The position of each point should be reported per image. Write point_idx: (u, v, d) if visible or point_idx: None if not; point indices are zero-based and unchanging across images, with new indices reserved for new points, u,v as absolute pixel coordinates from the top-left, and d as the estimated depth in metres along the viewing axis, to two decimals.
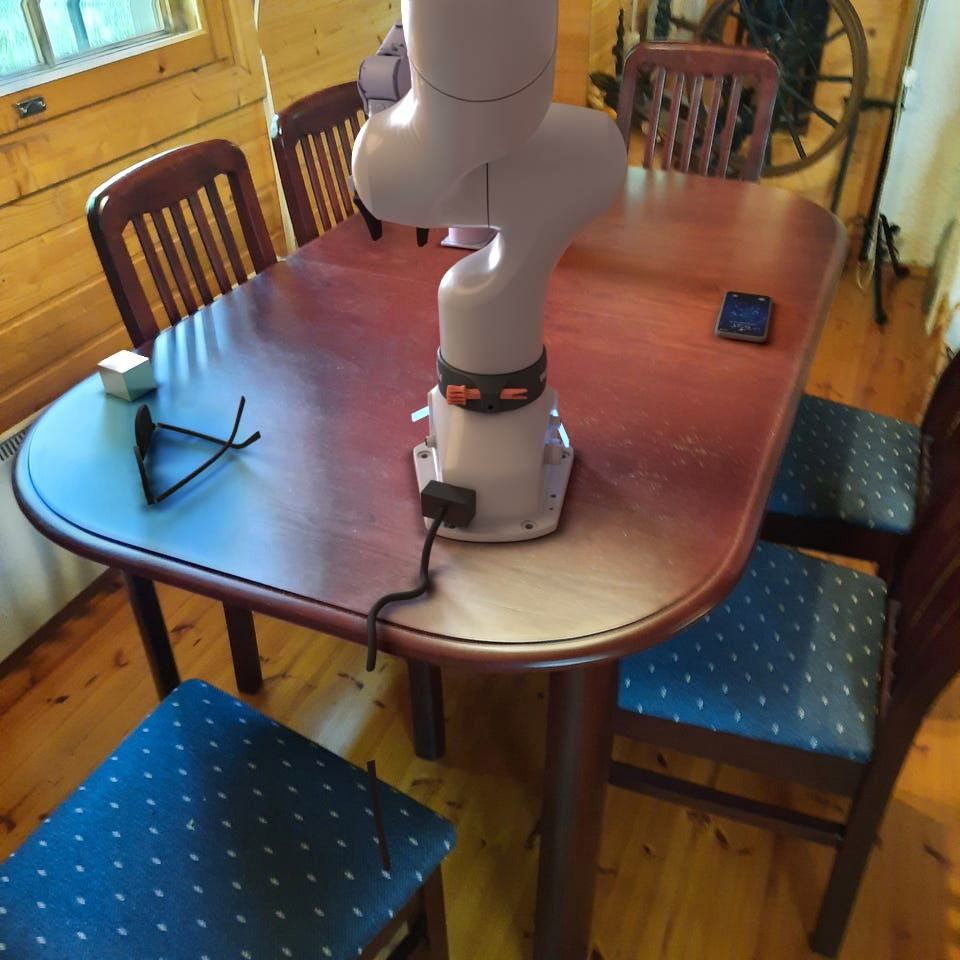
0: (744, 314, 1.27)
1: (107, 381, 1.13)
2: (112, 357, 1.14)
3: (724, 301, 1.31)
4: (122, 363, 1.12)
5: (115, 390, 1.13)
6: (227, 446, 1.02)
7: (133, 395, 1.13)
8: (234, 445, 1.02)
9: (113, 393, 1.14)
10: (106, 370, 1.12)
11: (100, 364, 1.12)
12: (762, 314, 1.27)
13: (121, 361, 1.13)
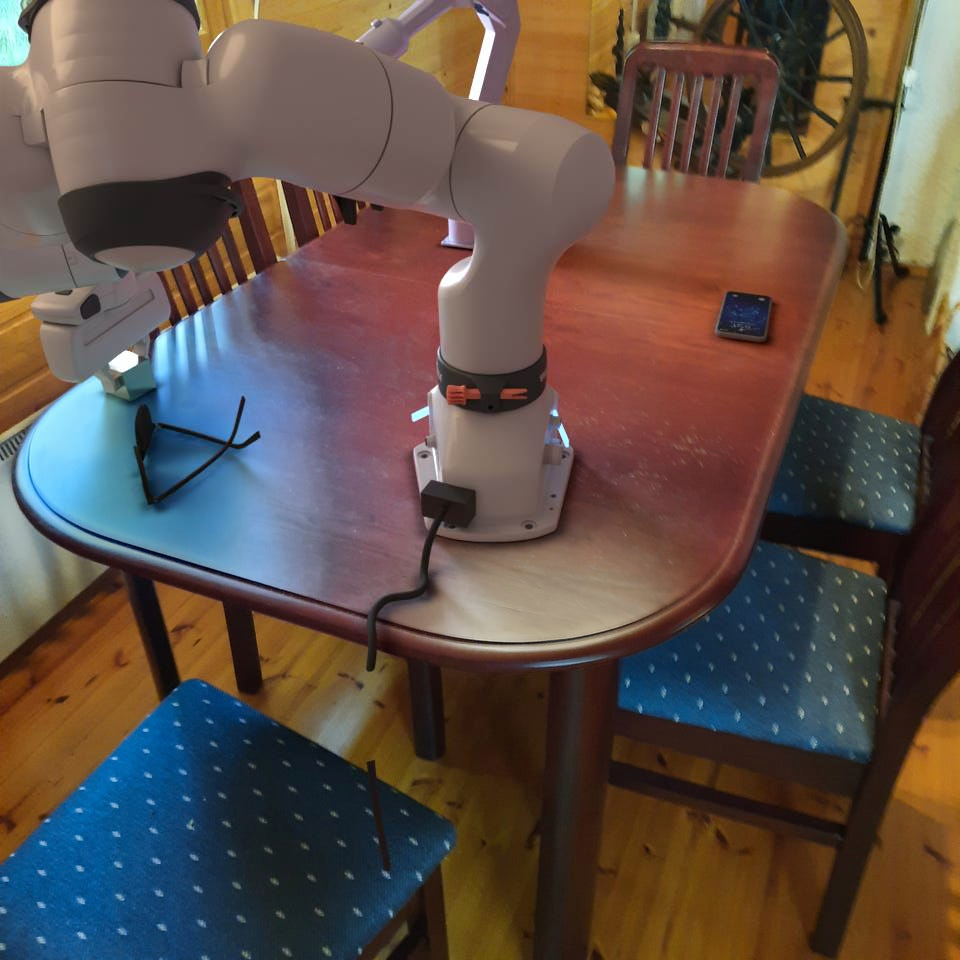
0: (744, 314, 1.27)
1: None
2: None
3: (724, 301, 1.31)
4: (123, 363, 1.12)
5: None
6: (227, 446, 1.02)
7: (133, 395, 1.13)
8: (234, 445, 1.02)
9: (113, 393, 1.14)
10: None
11: None
12: (762, 314, 1.27)
13: (121, 361, 1.13)
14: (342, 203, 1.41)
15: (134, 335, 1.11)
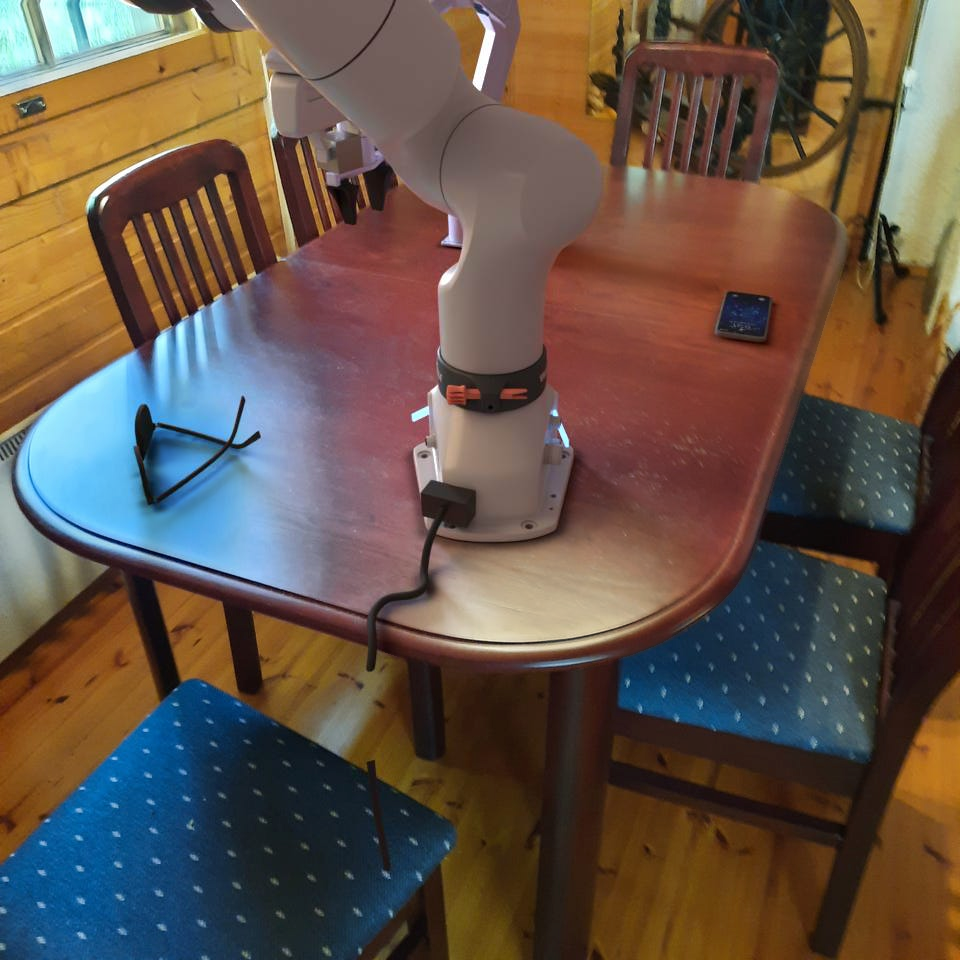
0: (744, 314, 1.27)
1: None
2: (327, 132, 1.19)
3: (724, 301, 1.31)
4: (336, 137, 1.17)
5: (326, 163, 1.19)
6: (227, 446, 1.02)
7: (342, 169, 1.18)
8: (234, 445, 1.02)
9: (324, 167, 1.20)
10: None
11: None
12: (762, 314, 1.27)
13: (335, 135, 1.18)
14: (342, 203, 1.41)
15: None
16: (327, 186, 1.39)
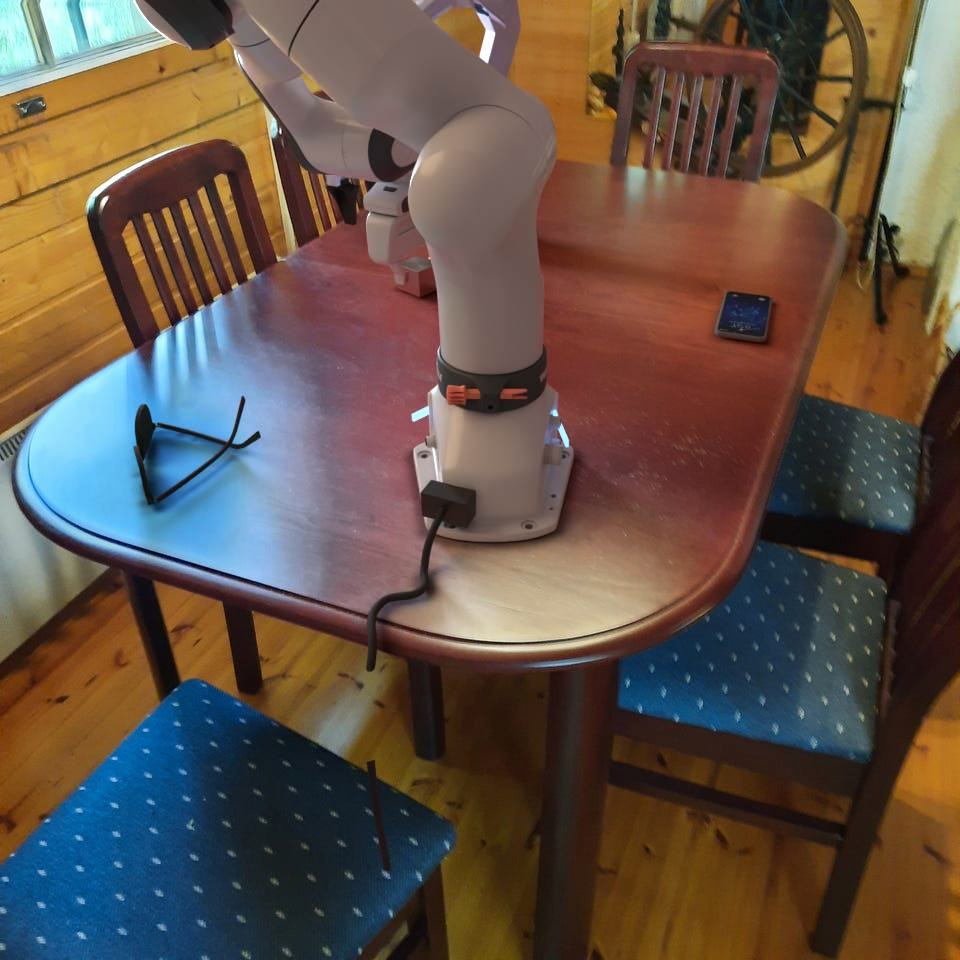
0: (744, 314, 1.27)
1: None
2: (408, 260, 1.38)
3: (724, 301, 1.31)
4: (417, 265, 1.36)
5: (408, 287, 1.38)
6: (227, 446, 1.02)
7: (422, 292, 1.37)
8: (234, 445, 1.02)
9: (405, 290, 1.38)
10: (404, 269, 1.36)
11: None
12: (762, 314, 1.27)
13: (416, 263, 1.37)
14: (342, 203, 1.41)
15: None
16: (327, 186, 1.39)
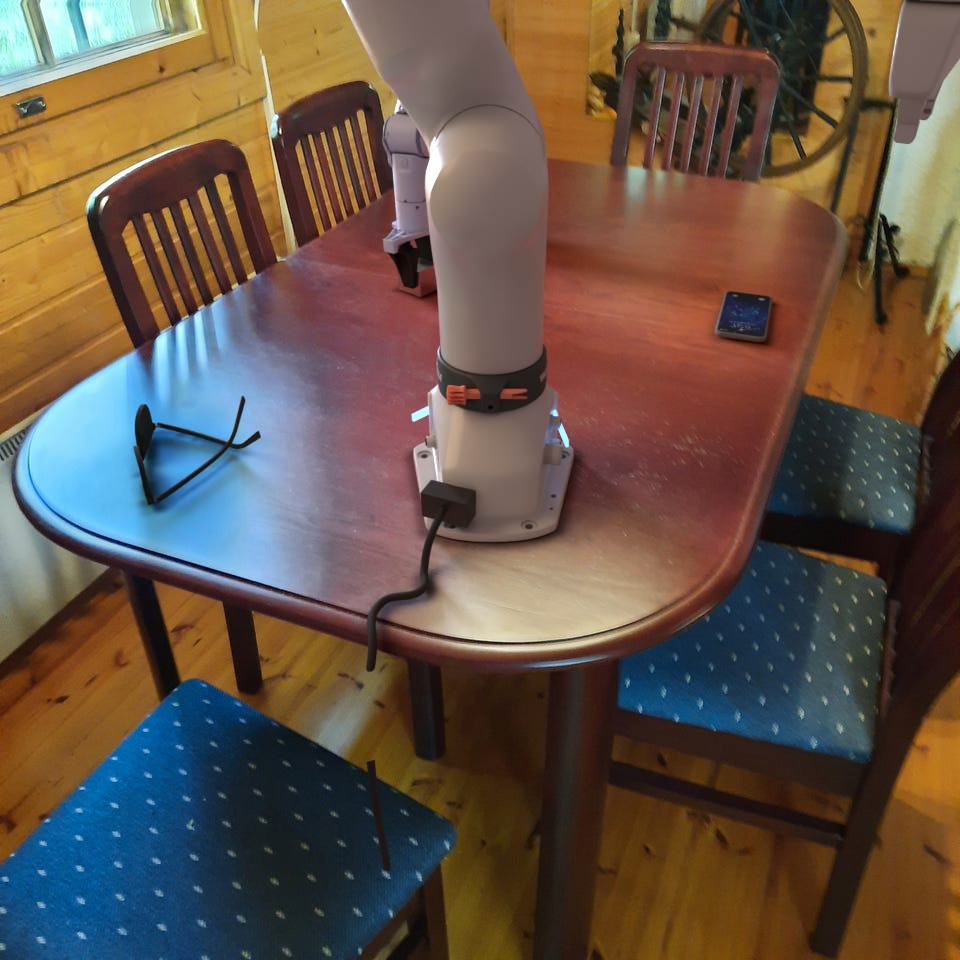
0: (744, 314, 1.27)
1: None
2: None
3: (724, 301, 1.31)
4: (418, 265, 1.36)
5: None
6: (227, 446, 1.02)
7: (423, 292, 1.37)
8: (234, 445, 1.02)
9: (405, 290, 1.38)
10: None
11: None
12: (762, 314, 1.27)
13: None
14: (402, 266, 1.35)
15: (953, 62, 0.81)
16: None
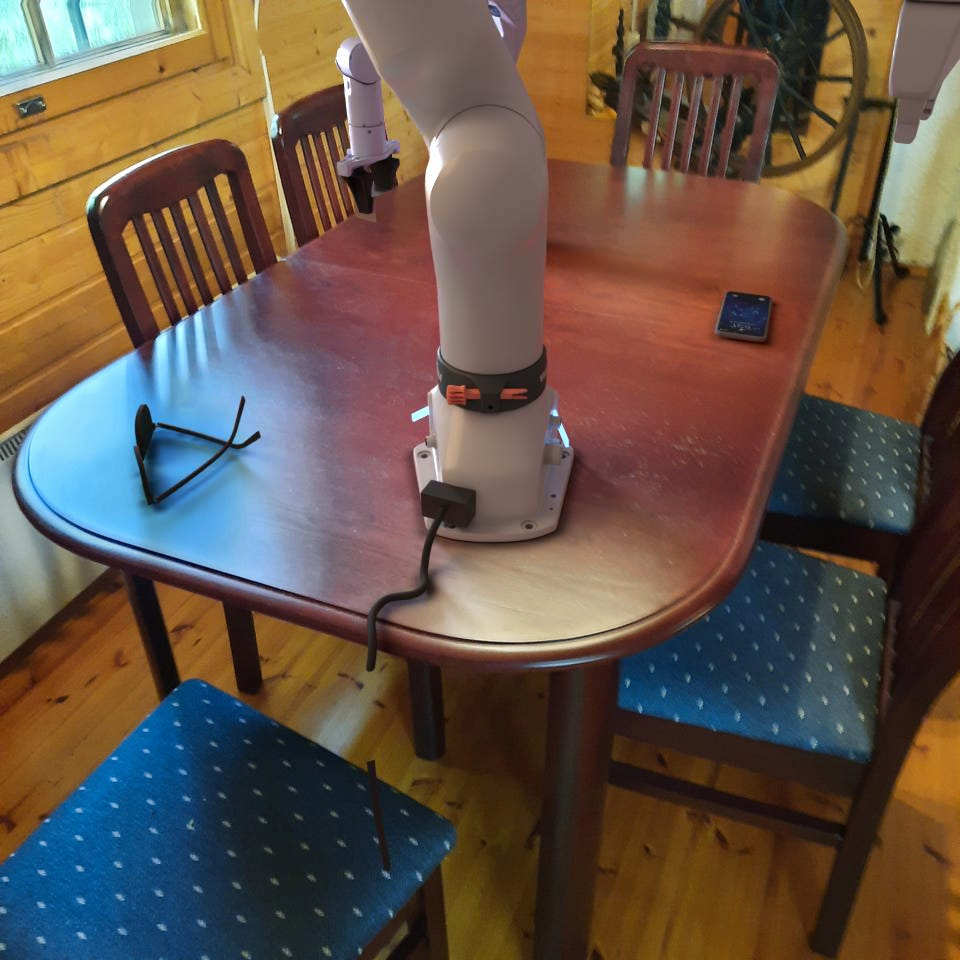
0: (744, 314, 1.27)
1: None
2: None
3: (724, 301, 1.31)
4: (373, 192, 1.41)
5: (364, 214, 1.42)
6: (227, 446, 1.02)
7: (378, 218, 1.42)
8: (234, 445, 1.02)
9: (361, 217, 1.43)
10: None
11: None
12: (762, 314, 1.27)
13: None
14: (357, 192, 1.40)
15: (953, 62, 0.81)
16: None
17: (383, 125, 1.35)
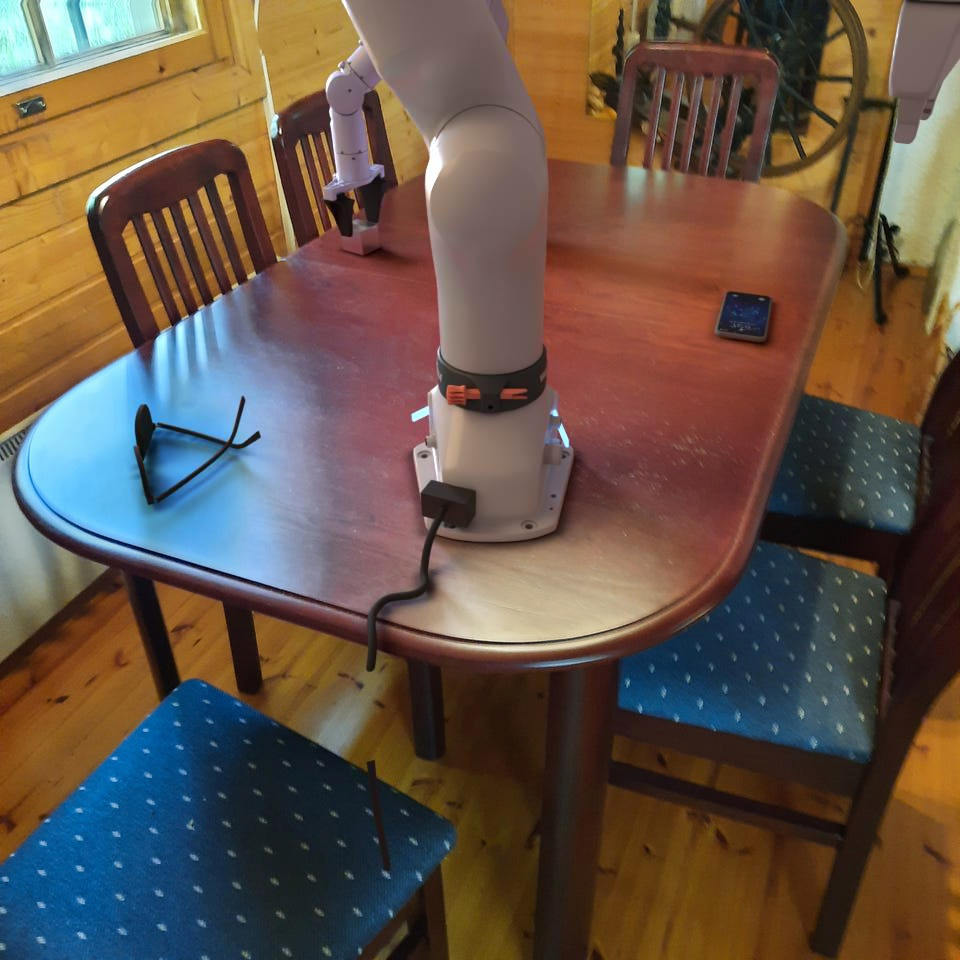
0: (744, 314, 1.27)
1: (346, 240, 1.52)
2: None
3: (724, 301, 1.31)
4: (359, 226, 1.51)
5: (351, 247, 1.52)
6: (227, 446, 1.02)
7: (365, 251, 1.51)
8: (234, 445, 1.02)
9: (349, 250, 1.53)
10: None
11: None
12: (762, 314, 1.27)
13: (357, 225, 1.51)
14: (338, 216, 1.47)
15: (953, 62, 0.81)
16: (324, 200, 1.45)
17: (366, 152, 1.43)
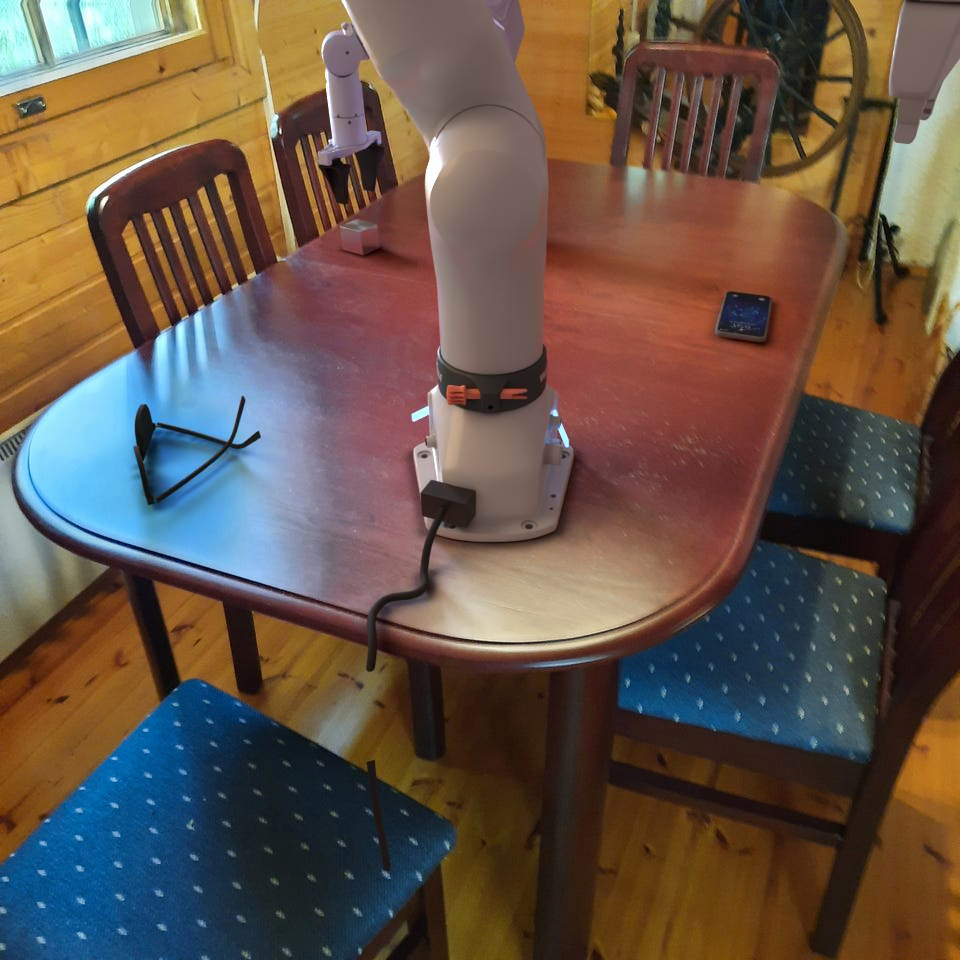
0: (744, 314, 1.27)
1: (346, 240, 1.52)
2: (349, 223, 1.52)
3: (724, 301, 1.31)
4: (359, 226, 1.51)
5: (351, 247, 1.52)
6: (227, 446, 1.02)
7: (365, 251, 1.51)
8: (234, 445, 1.02)
9: (349, 250, 1.53)
10: (347, 230, 1.51)
11: (342, 226, 1.51)
12: (762, 314, 1.27)
13: (357, 225, 1.51)
14: (334, 182, 1.44)
15: (953, 62, 0.81)
16: (319, 165, 1.41)
17: (363, 116, 1.40)
